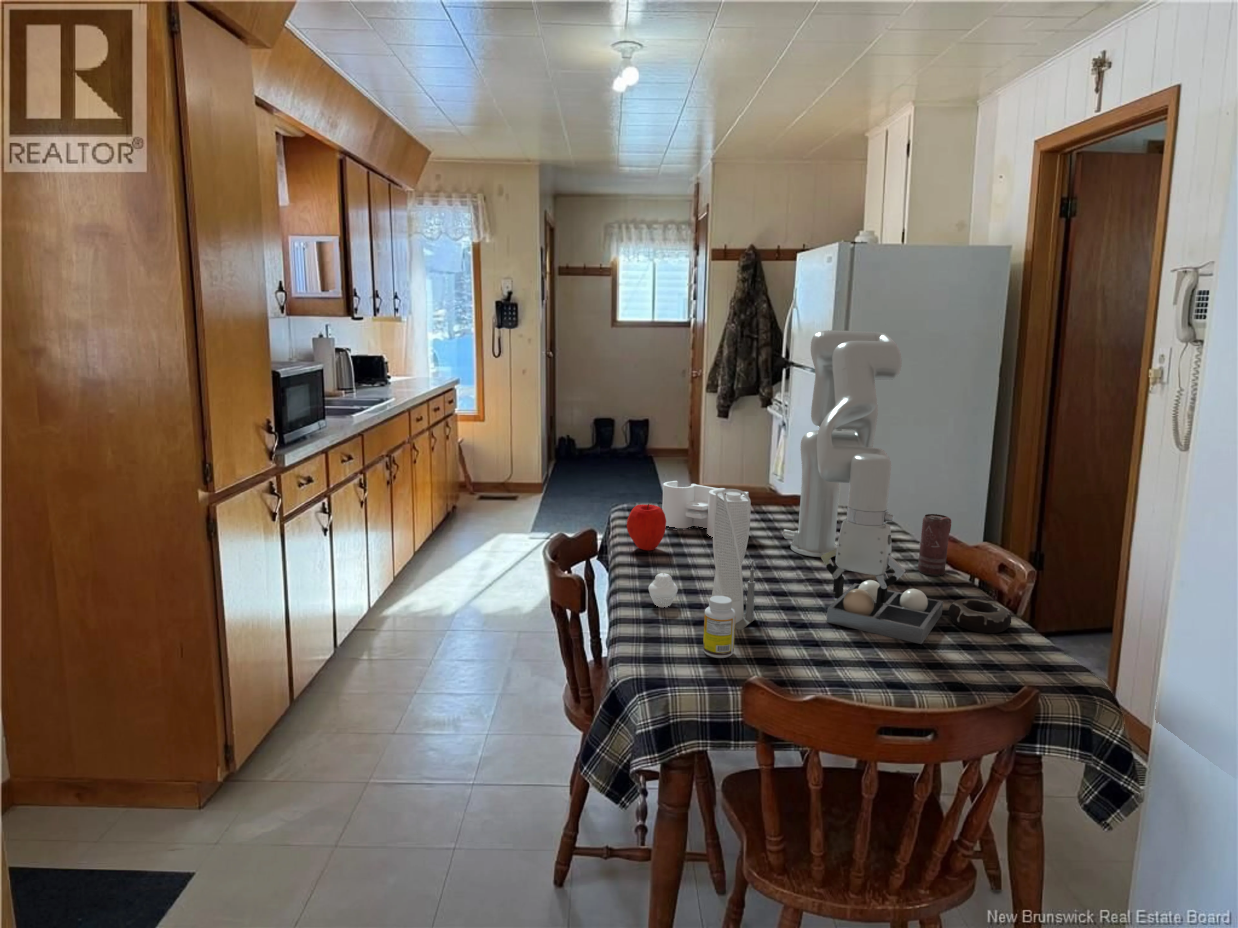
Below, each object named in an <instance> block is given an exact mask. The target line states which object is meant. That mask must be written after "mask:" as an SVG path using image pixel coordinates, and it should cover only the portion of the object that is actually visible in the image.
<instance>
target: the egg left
mask: <svg viewBox="0 0 1238 928" xmlns="http://www.w3.org/2000/svg"><path fill="white" fill-rule="evenodd" d="M859 584H860V586H859V587H858V589H863V590H865V591H867V592H868V593H869V594H870V595H871V596H872V598H873V600H874V601H875V602H876V600H877V589H878V588H879V587H880V584H879V582H878V581H876V580H872V579H868V580H865V581H862V582H861V583H859Z"/></svg>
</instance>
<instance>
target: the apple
mask: <svg viewBox="0 0 1238 928" xmlns="http://www.w3.org/2000/svg"><path fill="white" fill-rule="evenodd" d="M626 529H627V532H628V535H629V538H631V540H632V541H633V543H634V545H635V546H636V547H637V548H638V549H641V550H643V551H654V550H655V549H657V548H658V546H659V545H660V543H661V542H662V540H663V538H664V535H665V532H666V529H667V528H666V517H665V514H664V512H663V510H662V507H660V506H658V505H655V504H650V503H647V504H644V503H643V504H636V506H634V507H633V508H632V509H631V511H630V512H629V515H628V517H627V520H626Z"/></svg>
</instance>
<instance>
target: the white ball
mask: <svg viewBox="0 0 1238 928" xmlns="http://www.w3.org/2000/svg"><path fill="white" fill-rule="evenodd" d="M902 593H903V594H902V595H901V598H900V605H901V607H904V608H908V609H913V610H918V611H922V612H924V611H925V610H926V608H927V606H928V600H927V598H928V597H927V595H926V594H925V593H924V591H922V590H920V589H918V588H908V589H906V590H905V591H904V592H902Z"/></svg>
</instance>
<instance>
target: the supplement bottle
mask: <svg viewBox="0 0 1238 928" xmlns="http://www.w3.org/2000/svg"><path fill="white" fill-rule="evenodd" d="M735 618H736V613H735V610H734V609H732V600H731V599H730V598H729V597H725V596H713V597H712V596H711V597H710V598H709V603H708V607H706V608H705V610H704V620H703V621H704V622H703V639H702V640H703V643H702V646H703V647H702V650H703V652H704V654H705V655H707V656H708V657H711V658H716V659H724V658H729V657H731V656H732V655H733V654H734V650H735V635H736V634H735V632H736V629H735Z"/></svg>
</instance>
